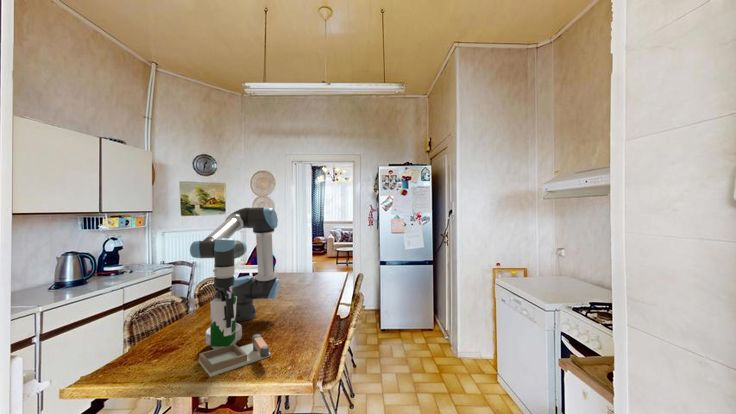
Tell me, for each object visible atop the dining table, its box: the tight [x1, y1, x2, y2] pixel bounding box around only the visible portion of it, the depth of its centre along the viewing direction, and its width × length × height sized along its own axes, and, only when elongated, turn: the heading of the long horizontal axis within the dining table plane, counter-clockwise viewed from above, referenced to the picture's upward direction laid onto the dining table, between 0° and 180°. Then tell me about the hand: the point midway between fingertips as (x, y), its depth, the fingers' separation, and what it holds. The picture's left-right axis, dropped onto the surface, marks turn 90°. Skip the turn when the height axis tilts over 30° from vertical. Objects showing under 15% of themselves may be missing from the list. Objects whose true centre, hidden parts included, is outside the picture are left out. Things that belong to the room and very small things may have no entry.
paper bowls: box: [205, 322, 243, 350], centre depth 141 cm, size 15×15×8 cm
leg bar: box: [251, 333, 270, 358], centre depth 128 cm, size 17×4×3 cm, turn 33°
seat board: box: [198, 343, 272, 378], centre depth 128 cm, size 15×24×4 cm, turn 134°
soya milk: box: [209, 293, 237, 348], centre depth 125 cm, size 9×9×20 cm
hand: (223, 331), depth 124 cm, fingers closed on soya milk, 9 cm apart
